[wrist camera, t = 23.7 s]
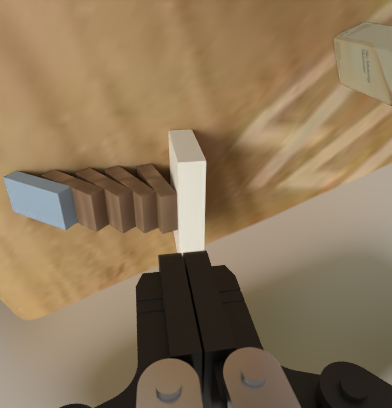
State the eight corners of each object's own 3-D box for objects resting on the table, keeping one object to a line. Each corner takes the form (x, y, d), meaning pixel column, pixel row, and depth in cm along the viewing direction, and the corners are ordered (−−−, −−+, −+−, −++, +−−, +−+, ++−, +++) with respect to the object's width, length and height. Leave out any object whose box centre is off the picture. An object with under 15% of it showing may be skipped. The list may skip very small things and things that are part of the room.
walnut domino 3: (109, 202, 48) (144, 233, 42) (104, 169, 45) (141, 197, 39) (122, 198, 49) (158, 227, 43) (118, 165, 46) (156, 191, 40)
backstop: (171, 221, 52) (179, 265, 44) (168, 130, 45) (177, 162, 37) (191, 219, 53) (203, 263, 44) (191, 129, 45) (206, 160, 37)
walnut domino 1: (49, 209, 46) (96, 231, 42) (40, 175, 44) (90, 195, 40) (61, 202, 48) (109, 223, 44) (54, 169, 45) (103, 188, 41)
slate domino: (13, 211, 46) (65, 230, 42) (3, 177, 43) (57, 193, 40) (26, 204, 47) (77, 221, 44) (16, 170, 44) (70, 186, 41)
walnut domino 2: (82, 205, 47) (122, 233, 42) (75, 172, 45) (118, 196, 39) (94, 200, 48) (135, 226, 43) (89, 167, 46) (132, 190, 41)
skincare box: (331, 36, 42) (396, 51, 32) (366, 20, 42) (443, 30, 32) (339, 85, 46) (401, 112, 35) (372, 71, 45) (443, 94, 35)
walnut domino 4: (139, 199, 49) (162, 233, 42) (136, 166, 46) (160, 197, 39) (153, 196, 50) (178, 229, 43) (151, 163, 47) (177, 193, 40)
